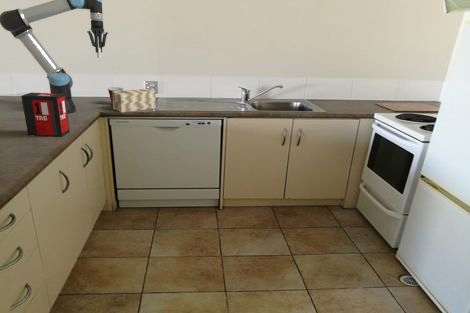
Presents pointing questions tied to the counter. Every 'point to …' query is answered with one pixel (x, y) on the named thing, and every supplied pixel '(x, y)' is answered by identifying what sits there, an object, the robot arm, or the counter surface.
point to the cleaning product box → (46, 114)
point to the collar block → (133, 100)
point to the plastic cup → (112, 91)
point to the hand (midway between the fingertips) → (99, 57)
